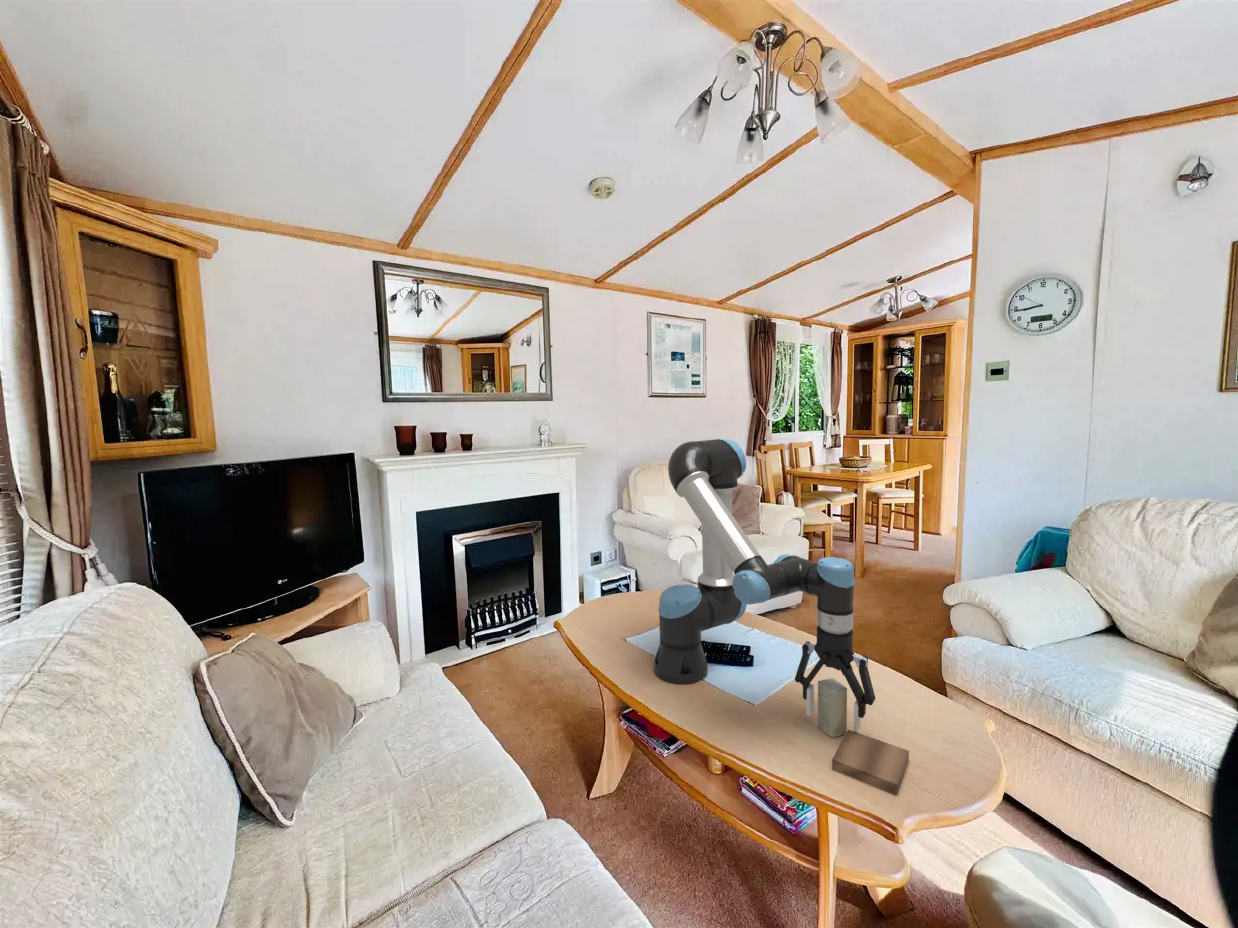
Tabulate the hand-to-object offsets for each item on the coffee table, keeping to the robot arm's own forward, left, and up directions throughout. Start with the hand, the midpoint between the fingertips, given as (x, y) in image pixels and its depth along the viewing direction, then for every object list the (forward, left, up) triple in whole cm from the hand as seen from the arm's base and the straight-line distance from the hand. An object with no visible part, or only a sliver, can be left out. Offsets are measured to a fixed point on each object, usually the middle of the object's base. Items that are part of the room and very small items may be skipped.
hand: (832, 720), depth 119 cm
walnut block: (+10, -7, -3) cm, 12 cm away
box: (0, 0, -3) cm, 3 cm away
